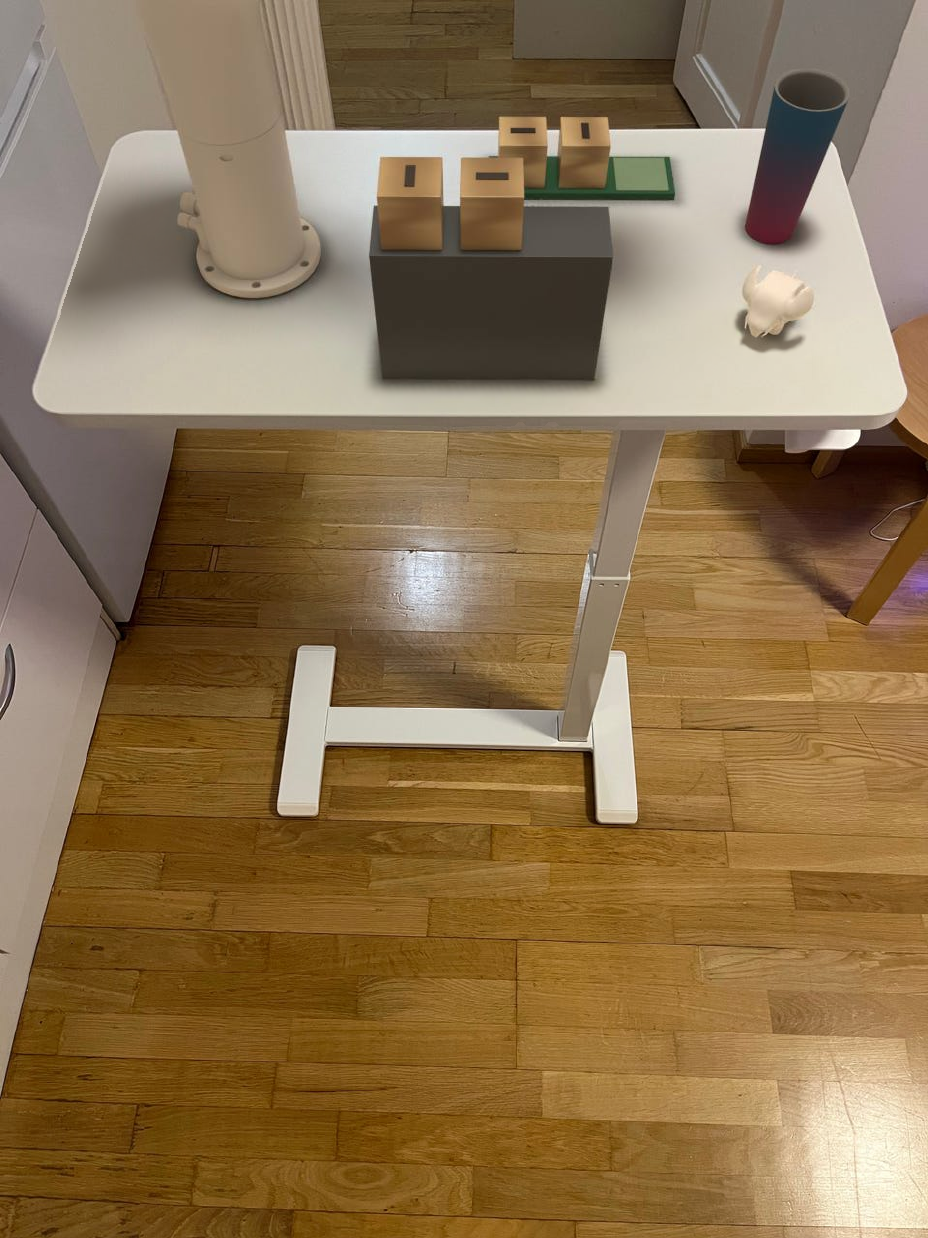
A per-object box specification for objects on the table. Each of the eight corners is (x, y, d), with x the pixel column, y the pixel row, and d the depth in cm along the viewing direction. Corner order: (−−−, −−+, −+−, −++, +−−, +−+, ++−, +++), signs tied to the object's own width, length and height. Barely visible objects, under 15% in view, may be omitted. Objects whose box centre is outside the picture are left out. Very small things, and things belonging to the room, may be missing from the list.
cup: (801, 253, 100) (849, 114, 87) (734, 245, 101) (773, 106, 88) (802, 211, 104) (850, 72, 91) (738, 203, 104) (776, 64, 91)
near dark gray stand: (382, 378, 92) (362, 200, 75) (385, 330, 95) (368, 149, 78) (594, 380, 91) (621, 202, 75) (590, 331, 95) (616, 150, 78)
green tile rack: (488, 198, 105) (489, 148, 100) (488, 162, 108) (489, 111, 103) (674, 199, 105) (684, 149, 100) (668, 162, 108) (678, 112, 103)
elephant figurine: (716, 333, 94) (730, 284, 89) (755, 287, 98) (771, 238, 93) (779, 363, 92) (797, 315, 87) (816, 315, 96) (836, 266, 91)
